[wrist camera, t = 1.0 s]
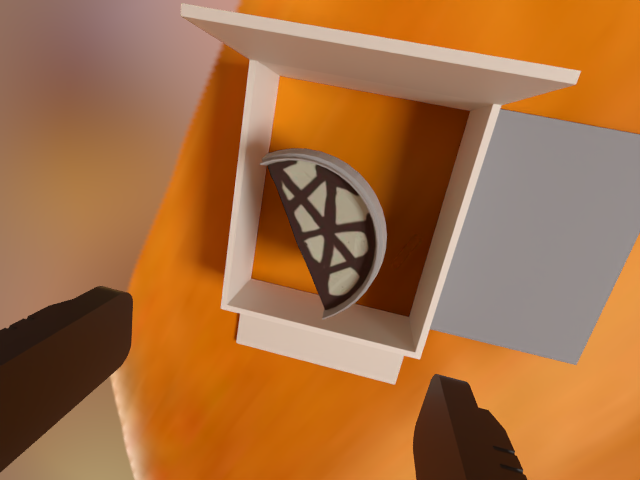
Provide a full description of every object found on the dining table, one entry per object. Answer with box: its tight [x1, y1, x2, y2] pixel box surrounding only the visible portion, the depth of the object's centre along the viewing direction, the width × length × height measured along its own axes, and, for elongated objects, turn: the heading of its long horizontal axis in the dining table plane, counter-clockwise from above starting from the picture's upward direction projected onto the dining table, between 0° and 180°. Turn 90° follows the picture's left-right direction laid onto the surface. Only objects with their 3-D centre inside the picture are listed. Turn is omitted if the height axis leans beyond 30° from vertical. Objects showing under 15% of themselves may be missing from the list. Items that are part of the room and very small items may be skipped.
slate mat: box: [430, 109, 640, 365], centre depth 30 cm, size 14×20×1 cm
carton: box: [181, 3, 581, 385], centre depth 26 cm, size 17×27×15 cm, turn 169°
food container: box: [260, 148, 387, 319], centre depth 27 cm, size 12×6×10 cm, turn 20°
